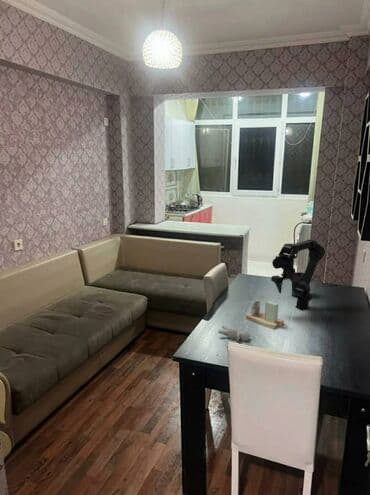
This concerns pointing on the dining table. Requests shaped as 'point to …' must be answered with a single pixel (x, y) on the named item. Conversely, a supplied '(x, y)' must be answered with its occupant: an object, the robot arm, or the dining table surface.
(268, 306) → the sage book
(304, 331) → the dining table surface
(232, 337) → the bunny figurine
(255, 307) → the tan board with upright
